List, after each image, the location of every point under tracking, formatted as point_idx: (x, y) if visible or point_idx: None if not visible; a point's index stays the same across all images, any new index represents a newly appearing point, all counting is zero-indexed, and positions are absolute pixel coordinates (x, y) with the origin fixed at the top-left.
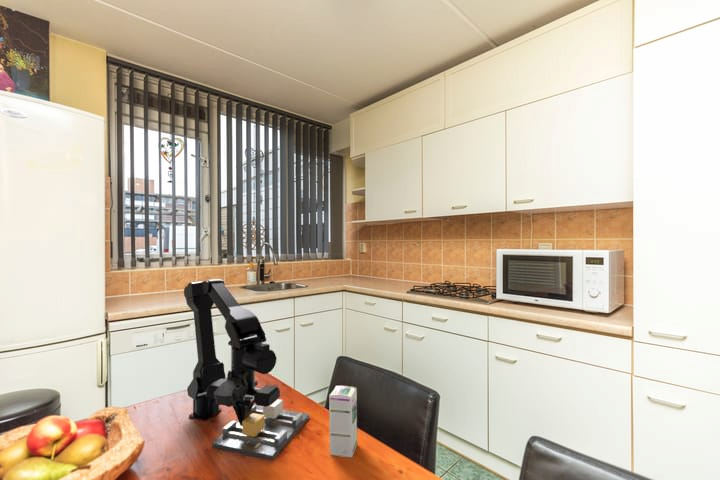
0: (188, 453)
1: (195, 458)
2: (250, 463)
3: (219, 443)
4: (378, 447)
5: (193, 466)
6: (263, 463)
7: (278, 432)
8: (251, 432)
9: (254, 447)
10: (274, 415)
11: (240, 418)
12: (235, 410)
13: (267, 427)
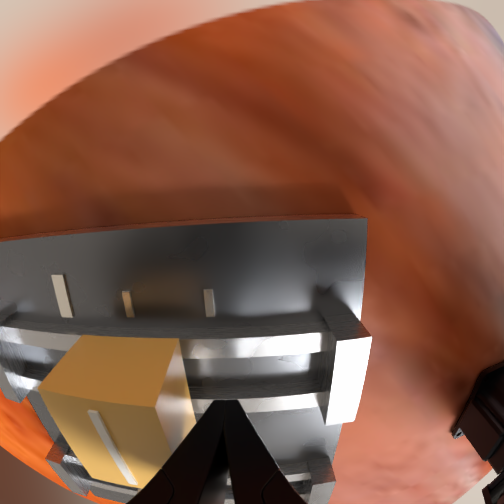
0: (431, 134)
1: (367, 101)
2: (42, 182)
3: (311, 231)
4: None
5: (320, 43)
6: (4, 210)
7: None
8: (93, 350)
9: (63, 274)
10: (138, 489)
11: (224, 439)
12: (283, 497)
13: None
